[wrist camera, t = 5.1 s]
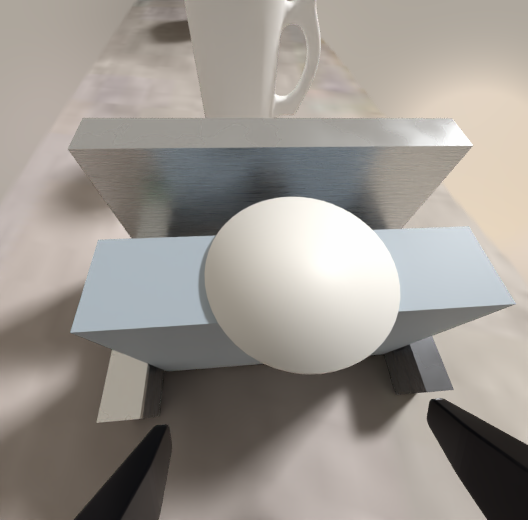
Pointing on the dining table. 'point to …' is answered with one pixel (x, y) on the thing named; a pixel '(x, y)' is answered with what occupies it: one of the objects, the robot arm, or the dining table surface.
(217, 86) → the mug
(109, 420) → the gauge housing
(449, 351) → the dining table surface
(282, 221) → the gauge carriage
